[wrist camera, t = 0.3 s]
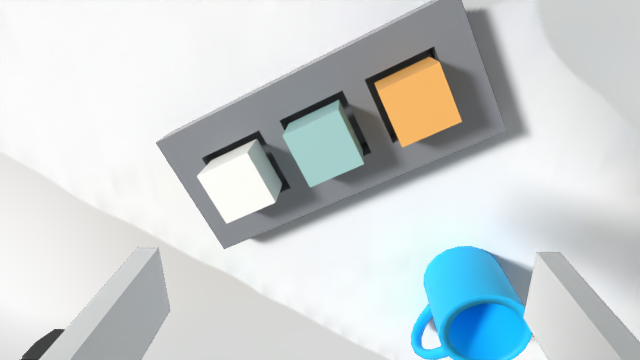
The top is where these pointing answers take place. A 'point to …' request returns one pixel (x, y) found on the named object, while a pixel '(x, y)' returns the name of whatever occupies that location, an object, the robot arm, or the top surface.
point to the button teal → (324, 144)
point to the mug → (471, 309)
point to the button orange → (418, 101)
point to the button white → (241, 181)
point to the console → (360, 107)
